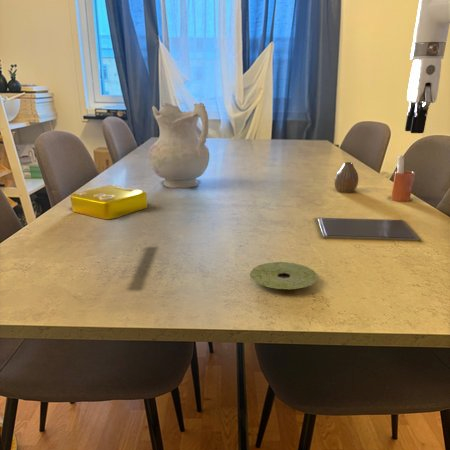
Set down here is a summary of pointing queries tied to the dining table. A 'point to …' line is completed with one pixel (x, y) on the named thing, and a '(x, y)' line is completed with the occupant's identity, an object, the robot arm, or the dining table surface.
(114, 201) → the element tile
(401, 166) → the stylus
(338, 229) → the tablet
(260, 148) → the dining table surface
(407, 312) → the dining table surface
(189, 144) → the ceramic pitcher
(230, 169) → the dining table surface
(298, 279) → the green stone disc
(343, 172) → the vase
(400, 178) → the pen cup
